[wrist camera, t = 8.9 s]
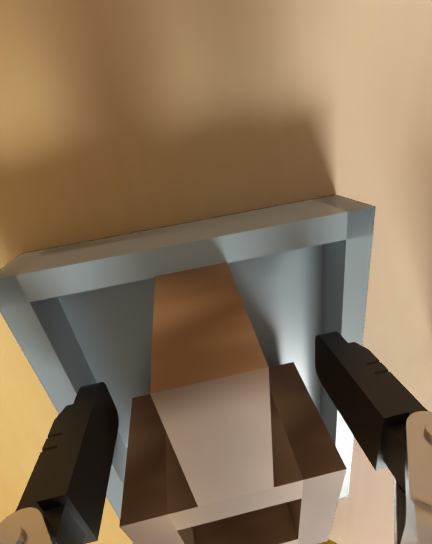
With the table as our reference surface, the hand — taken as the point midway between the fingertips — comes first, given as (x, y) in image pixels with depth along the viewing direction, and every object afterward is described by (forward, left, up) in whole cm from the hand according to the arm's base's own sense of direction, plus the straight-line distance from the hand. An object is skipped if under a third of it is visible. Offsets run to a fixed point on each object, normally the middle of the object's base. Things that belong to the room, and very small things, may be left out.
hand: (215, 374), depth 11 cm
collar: (0, +3, -2) cm, 3 cm away
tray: (0, +4, -3) cm, 5 cm away
